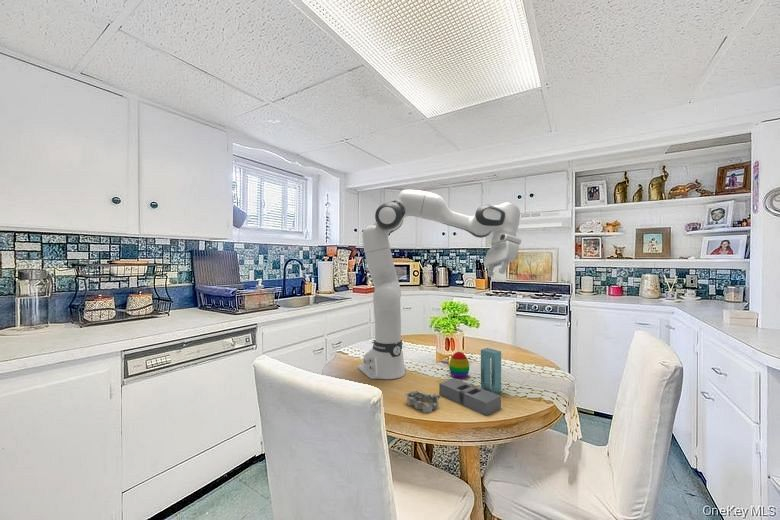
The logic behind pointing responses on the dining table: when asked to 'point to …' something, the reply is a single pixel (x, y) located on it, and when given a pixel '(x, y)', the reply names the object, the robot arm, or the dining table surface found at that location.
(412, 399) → the egg carton
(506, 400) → the dining table surface
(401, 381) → the dining table surface
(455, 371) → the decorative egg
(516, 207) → the robot arm
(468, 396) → the grey slotted block
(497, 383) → the clip
